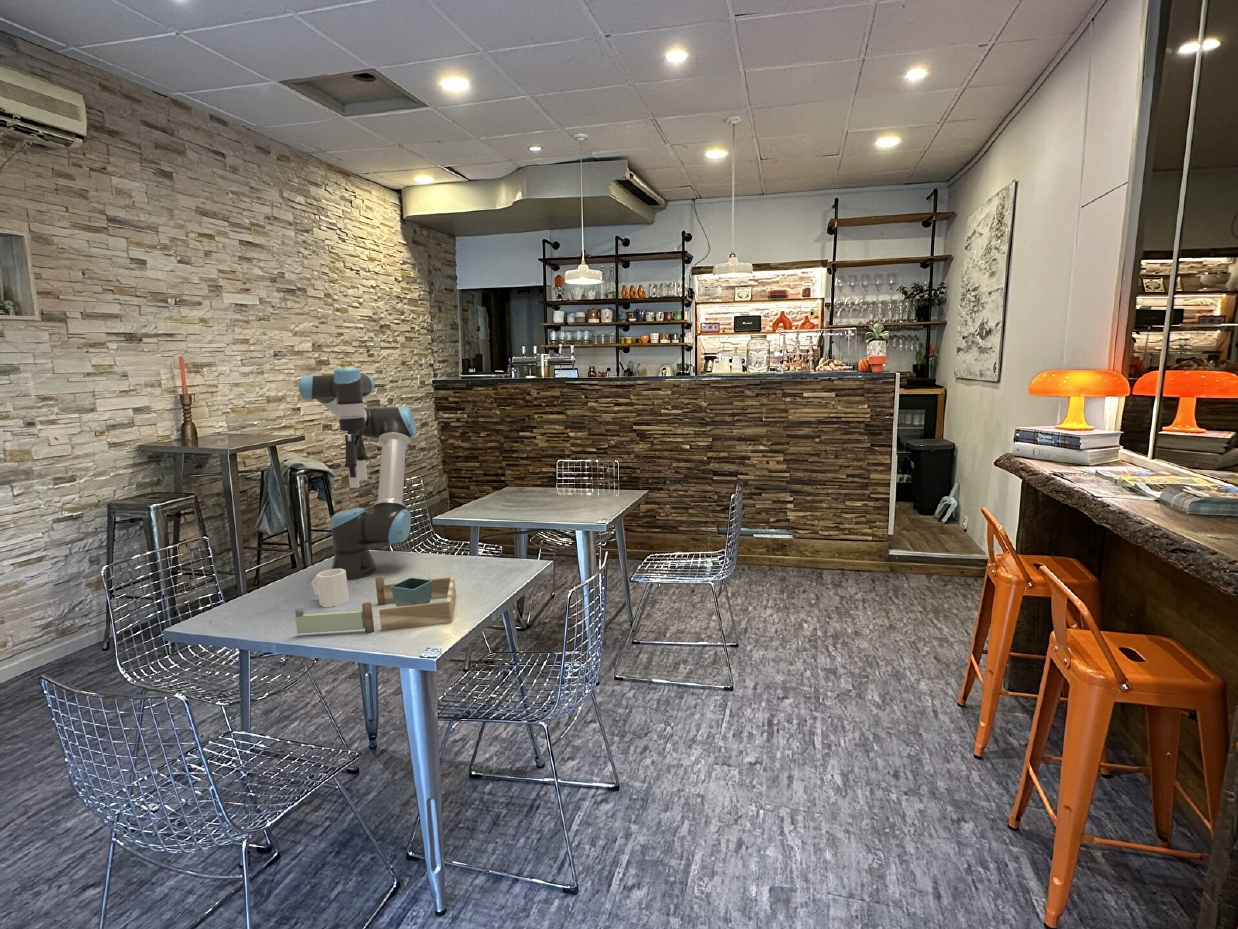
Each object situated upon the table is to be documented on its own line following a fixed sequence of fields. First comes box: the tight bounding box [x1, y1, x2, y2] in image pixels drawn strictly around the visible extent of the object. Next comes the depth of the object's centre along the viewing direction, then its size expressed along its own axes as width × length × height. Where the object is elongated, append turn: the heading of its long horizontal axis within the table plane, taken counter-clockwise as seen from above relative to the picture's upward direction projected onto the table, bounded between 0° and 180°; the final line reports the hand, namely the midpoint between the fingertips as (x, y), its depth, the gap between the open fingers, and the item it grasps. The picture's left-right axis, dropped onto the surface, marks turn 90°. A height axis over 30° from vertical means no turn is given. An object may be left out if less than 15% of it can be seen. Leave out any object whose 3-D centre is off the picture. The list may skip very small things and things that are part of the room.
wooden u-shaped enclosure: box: [361, 576, 457, 634], centre depth 193 cm, size 24×24×8 cm
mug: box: [310, 568, 350, 608], centre depth 205 cm, size 12×9×10 cm
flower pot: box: [391, 577, 432, 607], centre depth 194 cm, size 9×9×9 cm
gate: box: [294, 607, 365, 634], centre depth 180 cm, size 18×2×7 cm, turn 93°
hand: (359, 483), depth 207 cm, fingers open, 13 cm apart
